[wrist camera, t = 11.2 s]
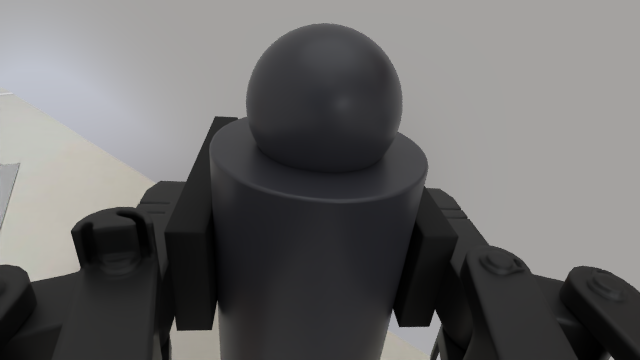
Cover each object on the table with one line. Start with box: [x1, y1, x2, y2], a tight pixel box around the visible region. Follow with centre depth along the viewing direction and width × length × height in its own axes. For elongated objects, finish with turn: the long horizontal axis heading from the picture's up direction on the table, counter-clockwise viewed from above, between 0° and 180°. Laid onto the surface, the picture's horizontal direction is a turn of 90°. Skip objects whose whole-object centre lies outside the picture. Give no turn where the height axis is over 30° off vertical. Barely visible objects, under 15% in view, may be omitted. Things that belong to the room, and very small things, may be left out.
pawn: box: [209, 23, 428, 360], centre depth 10 cm, size 4×4×12 cm
